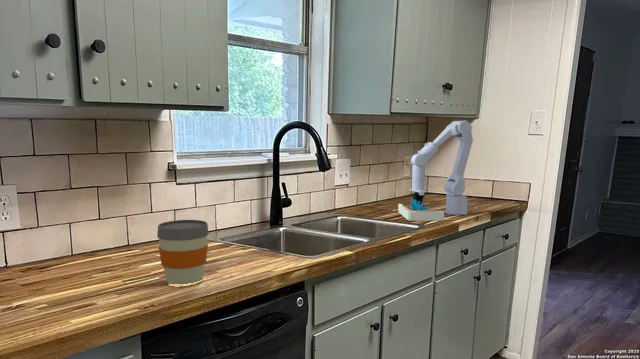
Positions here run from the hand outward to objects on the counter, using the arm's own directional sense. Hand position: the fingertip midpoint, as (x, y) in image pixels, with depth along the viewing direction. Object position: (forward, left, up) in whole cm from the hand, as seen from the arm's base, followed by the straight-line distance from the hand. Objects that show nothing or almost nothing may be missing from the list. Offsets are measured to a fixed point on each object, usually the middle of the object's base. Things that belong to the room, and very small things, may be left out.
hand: (417, 208), depth 215 cm
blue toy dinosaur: (0, +6, -3) cm, 6 cm away
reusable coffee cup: (+84, +95, -3) cm, 127 cm away
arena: (0, +3, -3) cm, 4 cm away
